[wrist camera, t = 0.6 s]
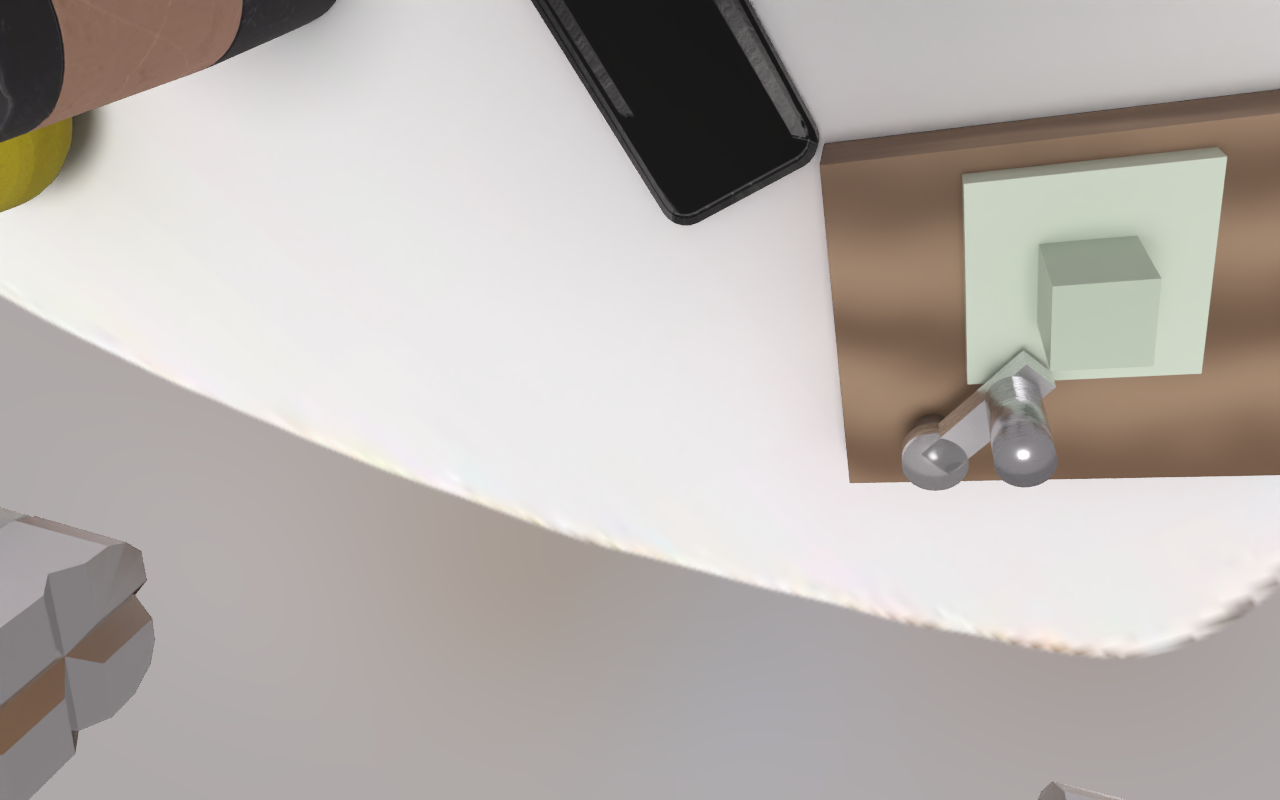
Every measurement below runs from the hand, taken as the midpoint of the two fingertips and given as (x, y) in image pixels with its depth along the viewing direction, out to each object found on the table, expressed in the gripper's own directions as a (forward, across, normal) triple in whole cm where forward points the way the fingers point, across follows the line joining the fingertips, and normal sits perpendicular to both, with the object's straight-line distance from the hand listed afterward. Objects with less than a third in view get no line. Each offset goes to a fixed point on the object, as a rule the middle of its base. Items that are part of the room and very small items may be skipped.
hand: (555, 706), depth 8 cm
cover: (+34, -12, +4) cm, 36 cm away
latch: (+33, -9, +11) cm, 36 cm away
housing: (+38, -13, +6) cm, 40 cm away
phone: (+37, +7, -2) cm, 38 cm away
